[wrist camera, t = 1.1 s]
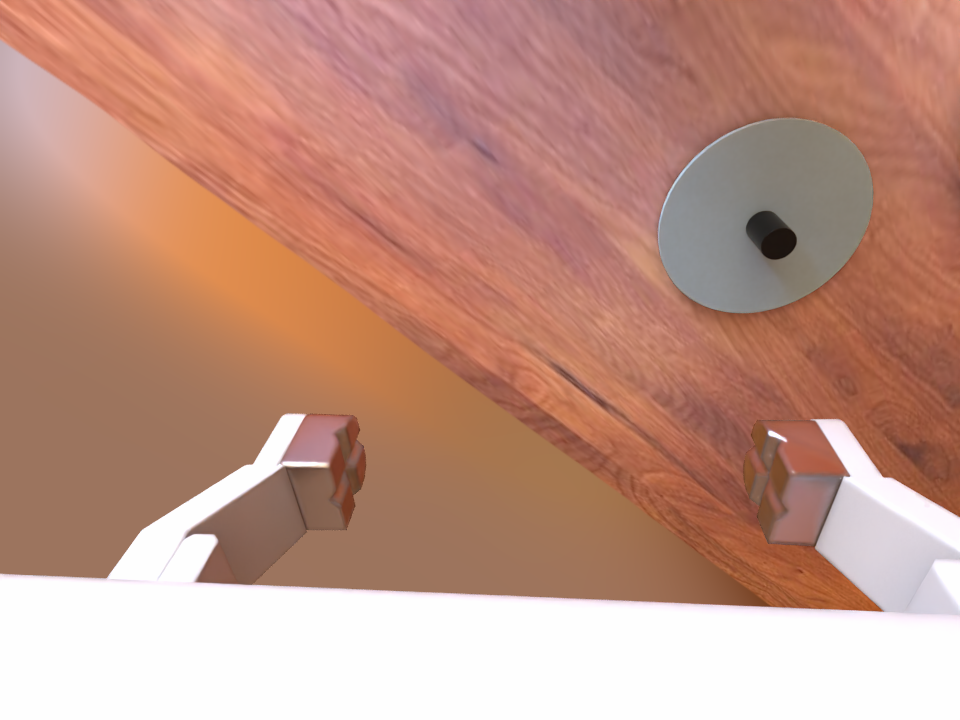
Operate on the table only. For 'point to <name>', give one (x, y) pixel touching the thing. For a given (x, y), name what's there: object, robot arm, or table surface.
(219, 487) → the robot arm
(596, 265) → the table surface
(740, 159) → the pan lid
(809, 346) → the table surface
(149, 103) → the table surface
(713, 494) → the table surface
